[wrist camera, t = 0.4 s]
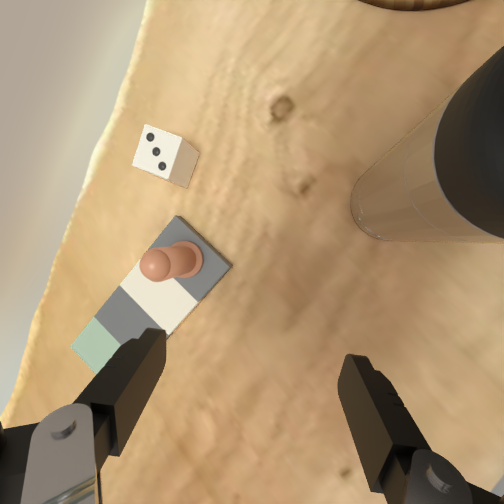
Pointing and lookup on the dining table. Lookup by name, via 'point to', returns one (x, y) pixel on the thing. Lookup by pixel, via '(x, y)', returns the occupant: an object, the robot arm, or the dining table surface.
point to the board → (149, 300)
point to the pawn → (172, 261)
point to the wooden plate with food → (412, 4)
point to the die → (165, 156)
